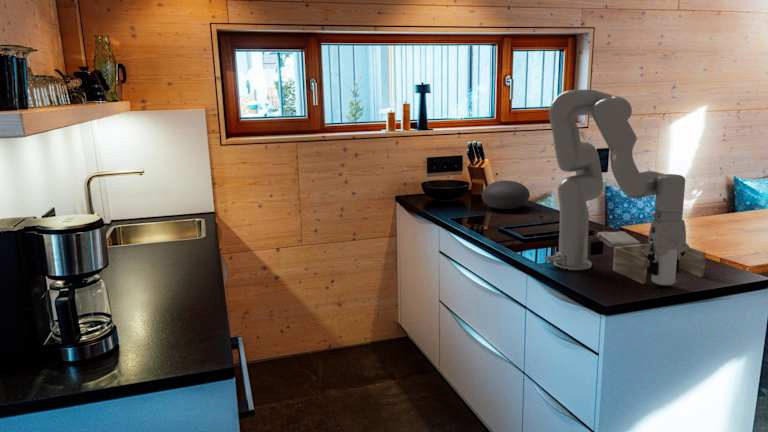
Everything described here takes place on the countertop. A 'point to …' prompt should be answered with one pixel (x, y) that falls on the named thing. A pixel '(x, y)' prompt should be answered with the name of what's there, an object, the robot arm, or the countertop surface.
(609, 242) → the washcloth
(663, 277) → the can
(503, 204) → the flattened ellipsoid
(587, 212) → the robot arm
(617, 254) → the wooden u-shaped stand
